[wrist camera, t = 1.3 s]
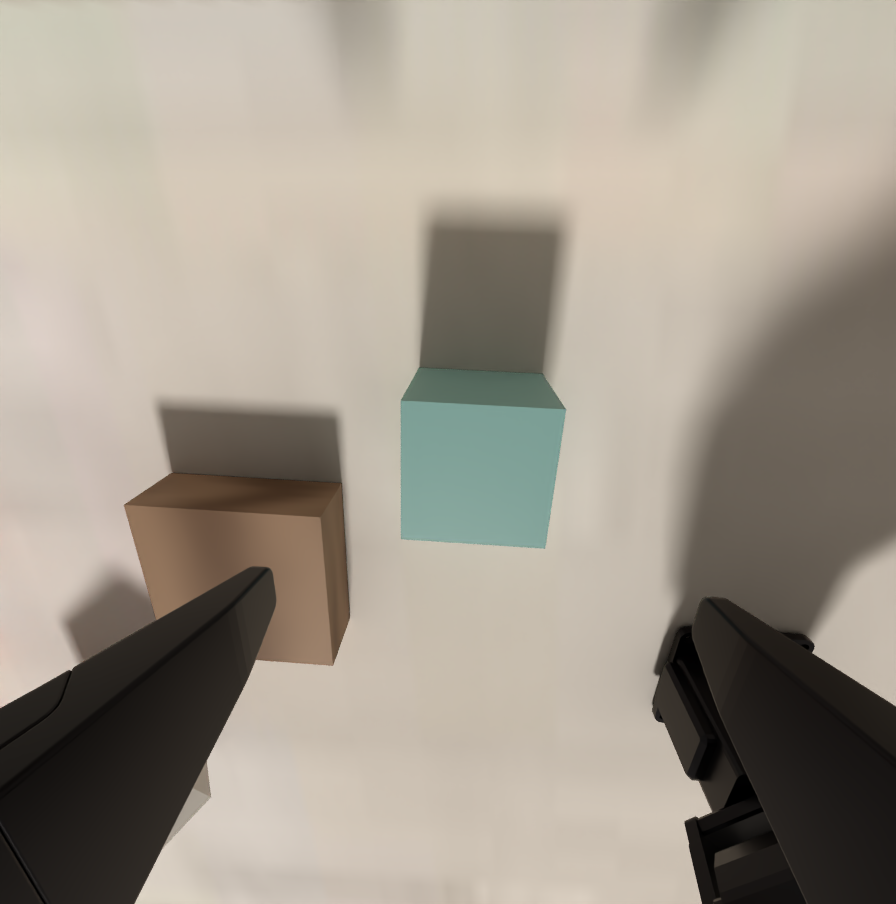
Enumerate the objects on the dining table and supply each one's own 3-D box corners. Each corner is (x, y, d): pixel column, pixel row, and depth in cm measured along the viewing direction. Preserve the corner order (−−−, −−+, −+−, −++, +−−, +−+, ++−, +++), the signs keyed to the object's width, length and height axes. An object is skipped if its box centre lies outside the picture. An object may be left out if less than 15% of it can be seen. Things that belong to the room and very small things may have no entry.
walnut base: (341, 483, 20) (320, 517, 17) (349, 618, 23) (332, 665, 20) (171, 472, 20) (123, 504, 18) (201, 607, 23) (165, 653, 21)
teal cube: (542, 373, 18) (566, 409, 13) (528, 483, 20) (545, 548, 15) (419, 367, 18) (400, 400, 13) (417, 476, 20) (400, 539, 15)
